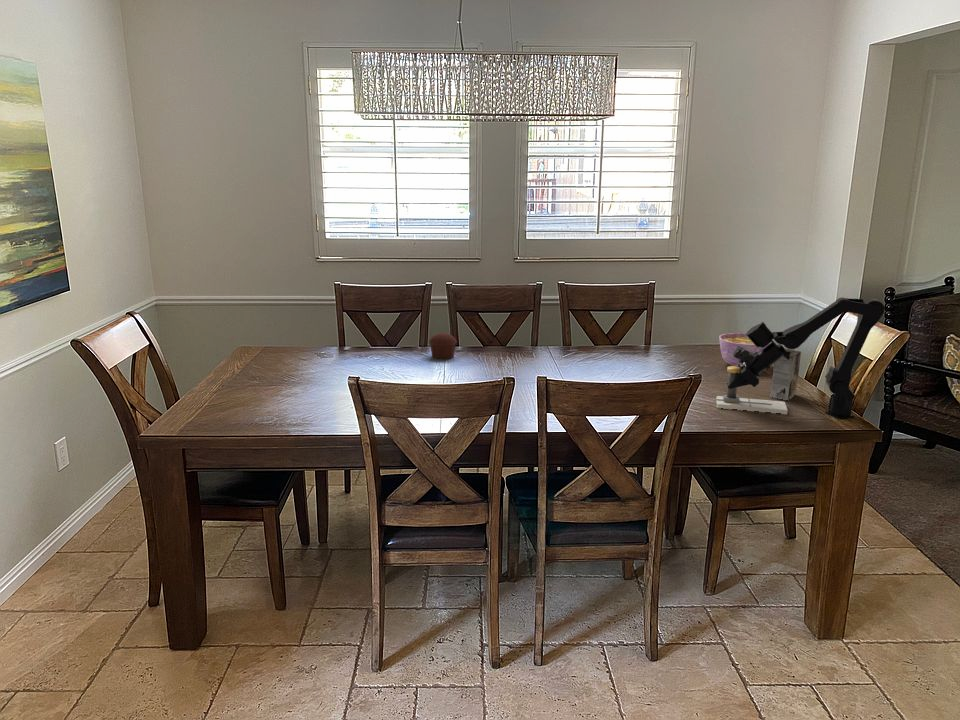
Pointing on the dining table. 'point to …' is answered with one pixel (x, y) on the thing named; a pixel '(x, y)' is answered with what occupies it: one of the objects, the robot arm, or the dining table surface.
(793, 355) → the coffee box
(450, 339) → the muffin
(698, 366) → the dining table surface
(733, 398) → the lever
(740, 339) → the bowl of food
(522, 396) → the dining table surface
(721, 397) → the fader console
